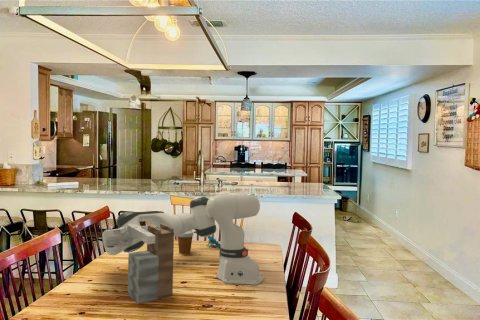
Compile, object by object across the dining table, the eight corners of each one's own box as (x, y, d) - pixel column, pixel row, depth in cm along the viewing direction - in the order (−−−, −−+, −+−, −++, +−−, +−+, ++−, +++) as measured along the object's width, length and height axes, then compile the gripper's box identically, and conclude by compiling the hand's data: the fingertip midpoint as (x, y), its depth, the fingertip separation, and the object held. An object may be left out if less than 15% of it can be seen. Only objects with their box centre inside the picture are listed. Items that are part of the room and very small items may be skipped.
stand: (127, 294, 149) (129, 227, 148) (160, 286, 158) (161, 223, 157) (138, 303, 141) (140, 233, 140) (172, 295, 150) (174, 228, 149)
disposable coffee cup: (172, 252, 209) (173, 232, 209) (184, 249, 217) (184, 229, 216) (185, 256, 204) (185, 234, 203) (196, 252, 211) (197, 231, 211)
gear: (224, 246, 221) (213, 235, 218) (218, 254, 218) (207, 243, 215) (216, 244, 230) (205, 233, 227) (210, 251, 228) (199, 241, 225)
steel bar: (126, 230, 156) (126, 223, 156) (133, 230, 158) (133, 223, 158) (147, 244, 139) (148, 236, 139) (155, 243, 141) (155, 235, 141)
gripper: (145, 241, 169) (157, 232, 160) (100, 248, 157) (110, 237, 147) (143, 228, 172) (154, 218, 162) (98, 233, 159) (107, 223, 149)
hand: (133, 227), depth 154 cm, fingers closed on steel bar, 3 cm apart
